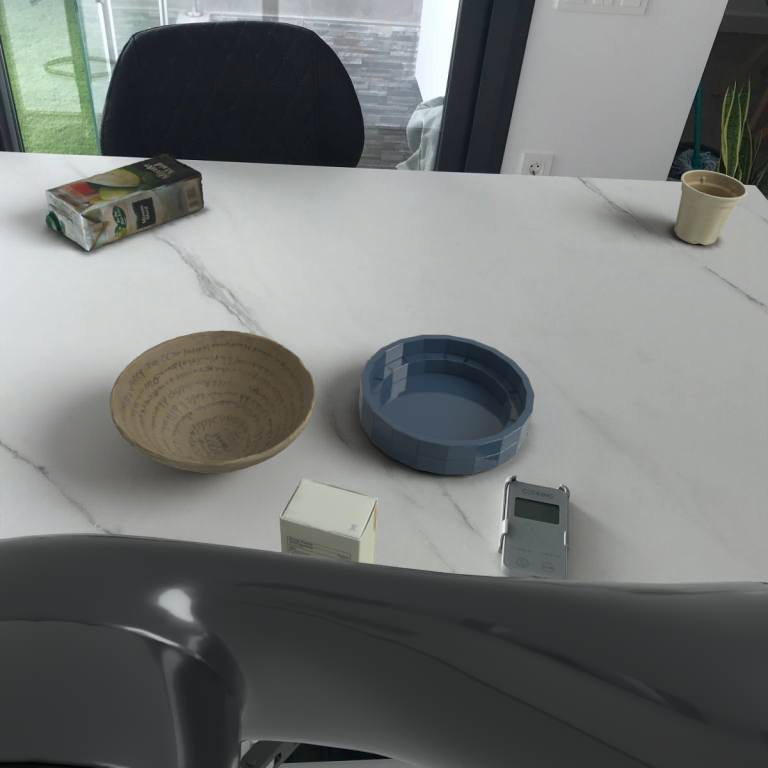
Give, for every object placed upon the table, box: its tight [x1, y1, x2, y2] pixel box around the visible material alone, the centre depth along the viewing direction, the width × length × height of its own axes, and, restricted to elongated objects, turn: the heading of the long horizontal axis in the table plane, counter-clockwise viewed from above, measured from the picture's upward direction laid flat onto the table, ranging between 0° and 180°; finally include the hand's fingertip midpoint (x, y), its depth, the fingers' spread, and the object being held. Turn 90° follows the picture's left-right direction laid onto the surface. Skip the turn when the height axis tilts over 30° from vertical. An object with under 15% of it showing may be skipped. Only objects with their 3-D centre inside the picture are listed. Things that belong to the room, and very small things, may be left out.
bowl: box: [109, 329, 317, 474], centre depth 73 cm, size 18×18×8 cm
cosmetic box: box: [279, 477, 379, 564], centre depth 59 cm, size 6×4×12 cm
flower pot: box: [673, 169, 749, 246], centre depth 116 cm, size 9×9×9 cm
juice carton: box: [45, 153, 205, 252], centre depth 107 cm, size 20×10×6 cm, turn 138°
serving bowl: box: [358, 334, 535, 476], centre depth 80 cm, size 18×18×4 cm
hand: (282, 600), depth 54 cm, fingers open, 8 cm apart
